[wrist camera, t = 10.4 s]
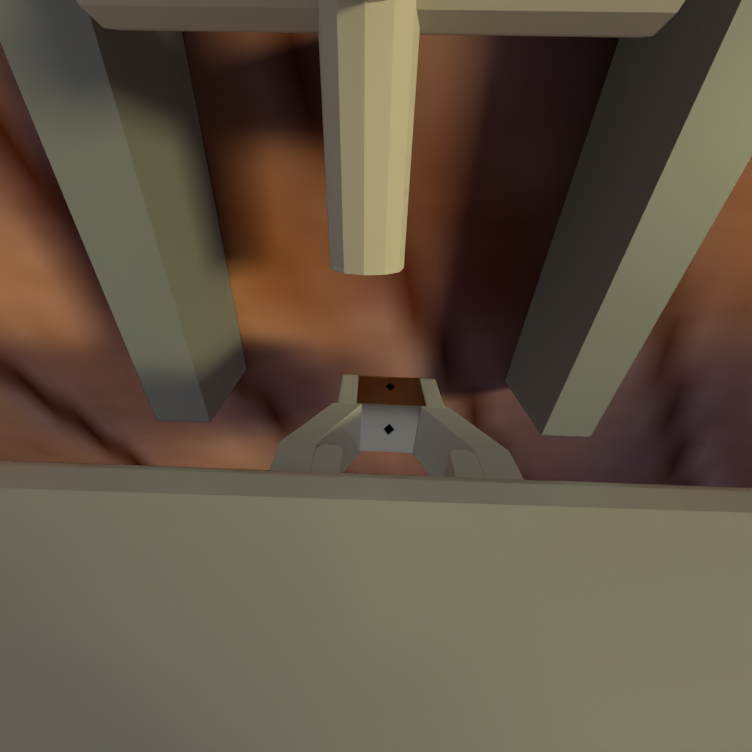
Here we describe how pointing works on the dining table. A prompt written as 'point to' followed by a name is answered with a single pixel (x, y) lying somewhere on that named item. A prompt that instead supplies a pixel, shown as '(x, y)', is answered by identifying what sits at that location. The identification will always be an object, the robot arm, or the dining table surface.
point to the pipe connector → (379, 83)
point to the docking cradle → (564, 258)
